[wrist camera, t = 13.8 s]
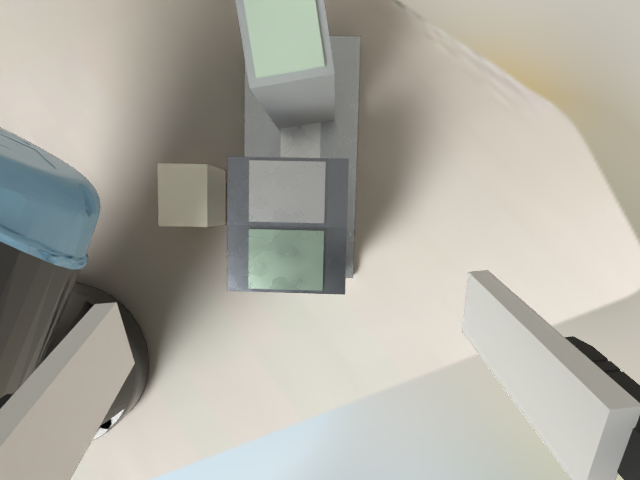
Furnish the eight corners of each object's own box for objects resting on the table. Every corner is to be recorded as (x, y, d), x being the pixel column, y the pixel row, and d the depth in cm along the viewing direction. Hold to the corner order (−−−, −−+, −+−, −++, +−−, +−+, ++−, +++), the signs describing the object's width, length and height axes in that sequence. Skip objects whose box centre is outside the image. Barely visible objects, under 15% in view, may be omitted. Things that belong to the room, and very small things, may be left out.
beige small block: (183, 223, 35) (158, 226, 30) (183, 169, 34) (157, 163, 29) (225, 224, 34) (207, 227, 29) (225, 170, 34) (207, 164, 29)
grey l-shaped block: (246, 272, 35) (211, 298, 25) (247, 40, 33) (210, -31, 23) (352, 276, 34) (359, 302, 24) (359, 41, 32) (370, -31, 23)
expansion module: (278, 129, 32) (248, 87, 21) (267, 59, 32) (231, -22, 21) (334, 119, 32) (334, 72, 21) (324, 49, 32) (318, -38, 20)
